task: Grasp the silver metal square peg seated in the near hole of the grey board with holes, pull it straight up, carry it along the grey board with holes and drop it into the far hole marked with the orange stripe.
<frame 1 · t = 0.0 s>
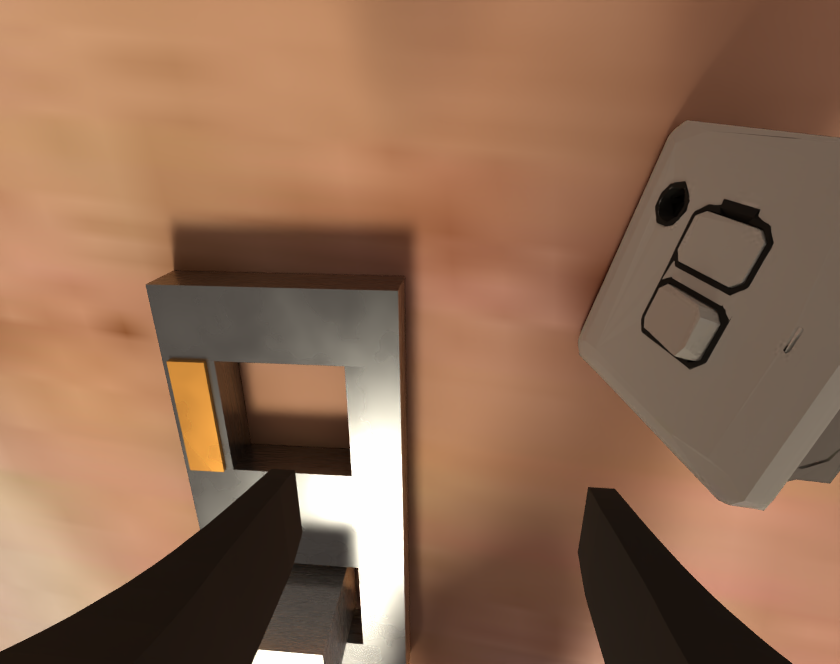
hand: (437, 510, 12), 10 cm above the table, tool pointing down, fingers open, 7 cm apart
grey board with holes: (310, 491, 25), on the table
peg: (319, 570, 28), resting in grey board with holes
electrical switch: (683, 255, 20), on the table
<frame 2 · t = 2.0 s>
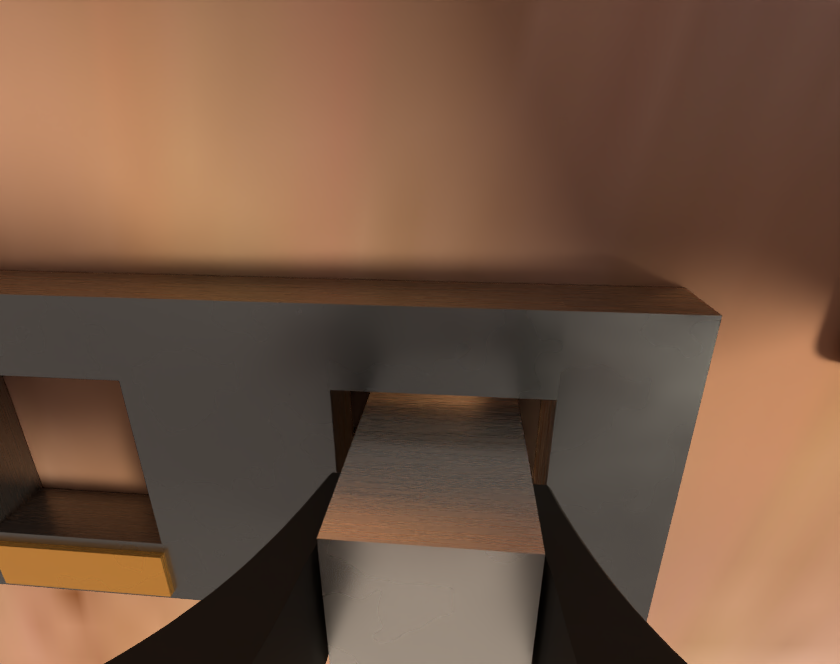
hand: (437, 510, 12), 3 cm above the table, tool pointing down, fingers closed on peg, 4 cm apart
grey board with holes: (265, 432, 15), on the table
peg: (443, 441, 15), resting in grey board with holes, touching gripper
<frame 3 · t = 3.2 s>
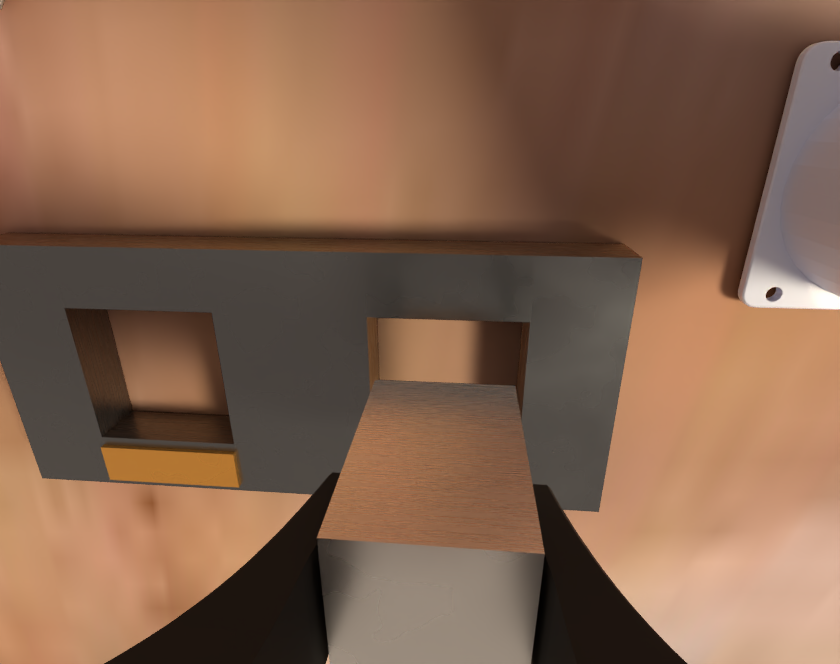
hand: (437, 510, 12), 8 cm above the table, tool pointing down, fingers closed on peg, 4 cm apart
grey board with holes: (311, 361, 20), on the table
peg: (443, 441, 15), point 5 cm above the table, touching gripper
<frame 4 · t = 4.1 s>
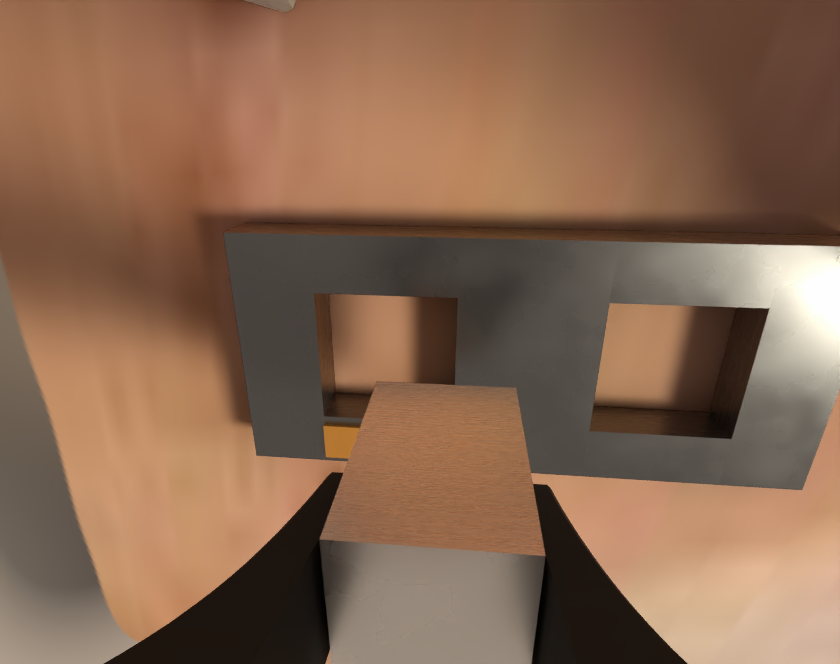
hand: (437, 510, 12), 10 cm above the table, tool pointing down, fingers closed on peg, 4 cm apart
grey board with holes: (521, 346, 21), on the table
peg: (444, 442, 15), point 7 cm above the table, touching gripper
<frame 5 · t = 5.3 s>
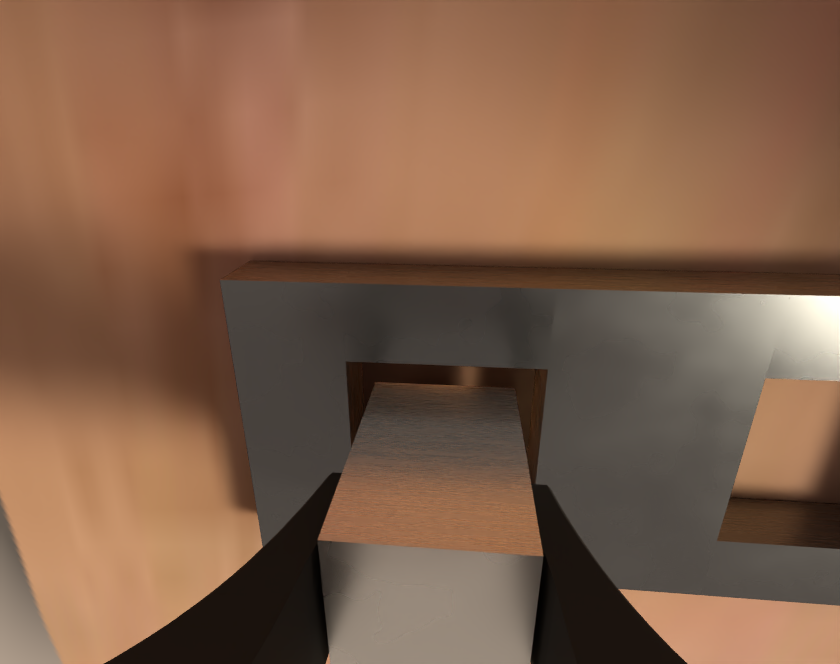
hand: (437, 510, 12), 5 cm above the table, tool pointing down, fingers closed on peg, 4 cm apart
grey board with holes: (618, 421, 16), on the table
peg: (443, 443, 15), point 2 cm above the table, touching gripper
when the fingers open (4 cm above the table, at t = 6.3 s): peg stays where it is, resting in grey board with holes.
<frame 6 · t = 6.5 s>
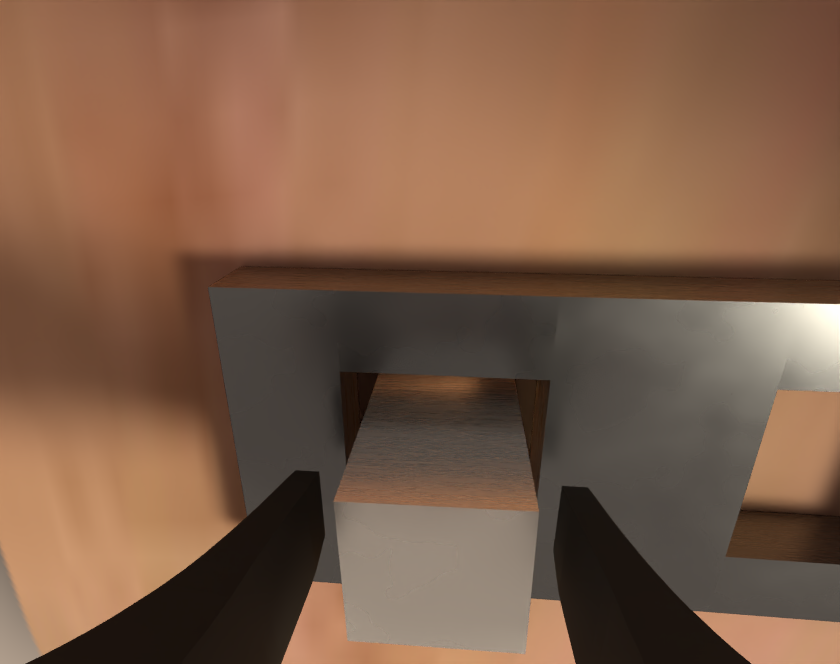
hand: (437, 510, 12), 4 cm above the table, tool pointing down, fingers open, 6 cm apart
grey board with holes: (622, 432, 15), on the table
peg: (446, 424, 16), resting in grey board with holes
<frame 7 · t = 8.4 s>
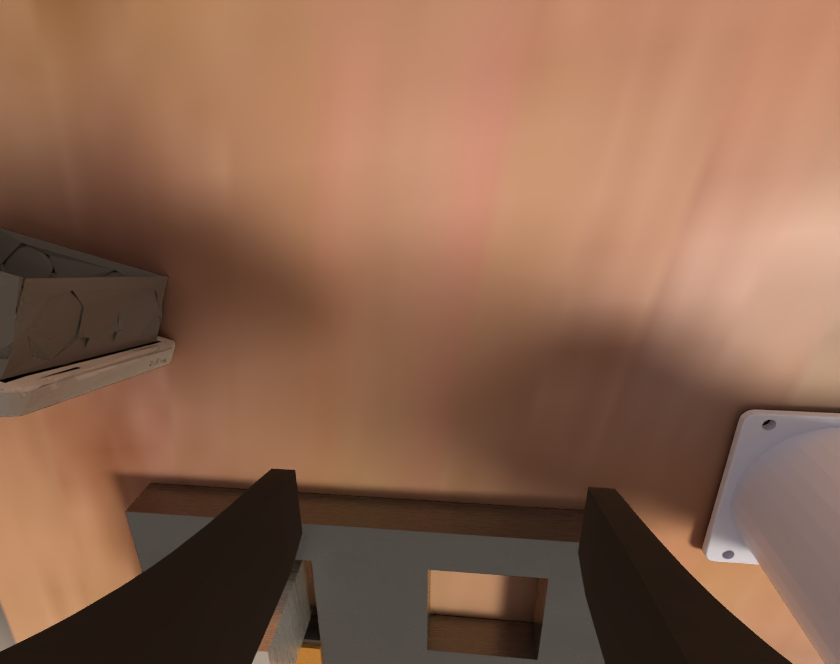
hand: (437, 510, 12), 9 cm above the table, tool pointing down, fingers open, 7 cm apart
grey board with holes: (378, 573, 26), on the table
peg: (277, 565, 27), resting in grey board with holes
electrical switch: (78, 270, 21), on the table
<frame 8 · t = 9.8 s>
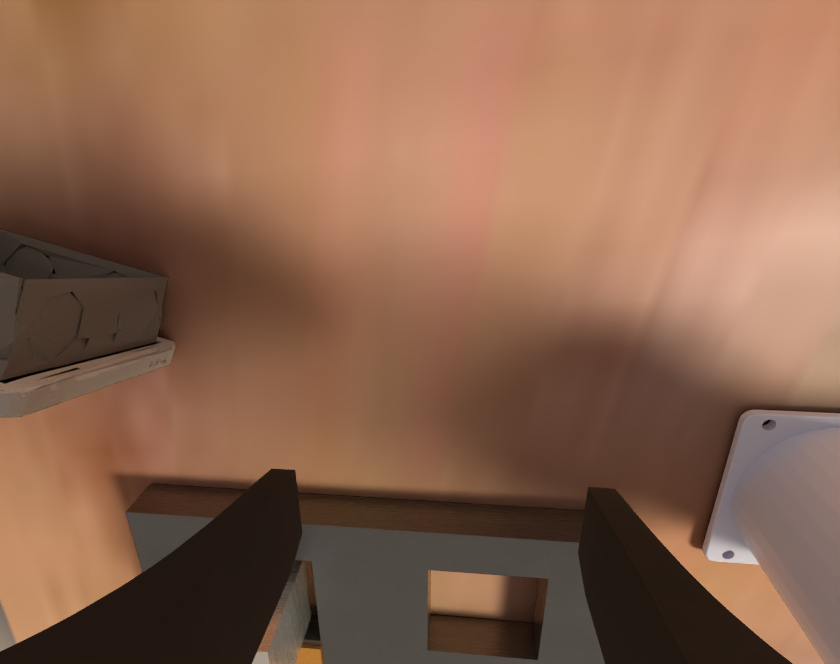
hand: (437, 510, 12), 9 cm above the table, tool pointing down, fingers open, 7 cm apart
grey board with holes: (378, 573, 26), on the table
peg: (278, 565, 27), resting in grey board with holes
electrical switch: (78, 271, 21), on the table
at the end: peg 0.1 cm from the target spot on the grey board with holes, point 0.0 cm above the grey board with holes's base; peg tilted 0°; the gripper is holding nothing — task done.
